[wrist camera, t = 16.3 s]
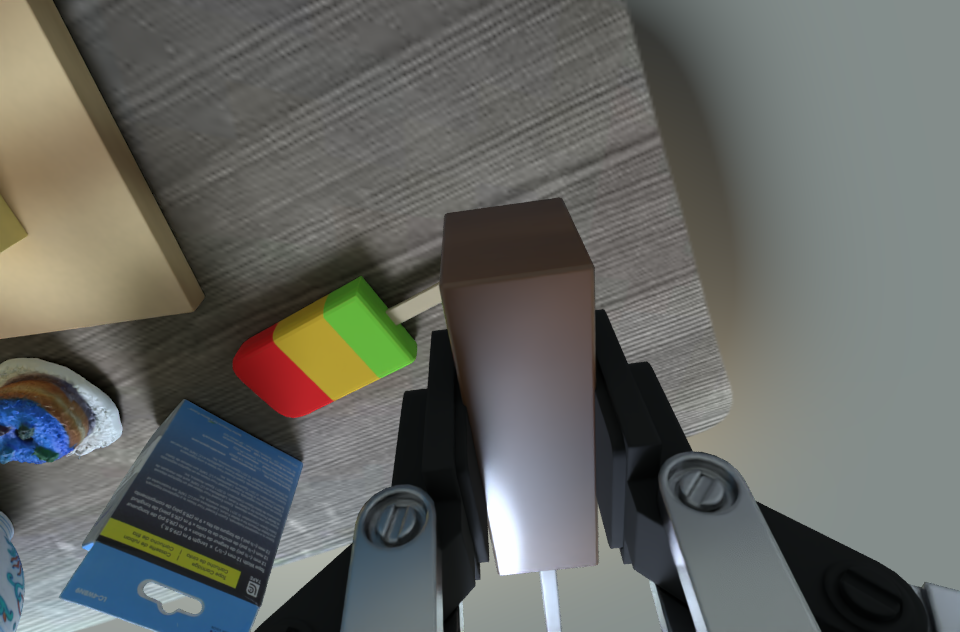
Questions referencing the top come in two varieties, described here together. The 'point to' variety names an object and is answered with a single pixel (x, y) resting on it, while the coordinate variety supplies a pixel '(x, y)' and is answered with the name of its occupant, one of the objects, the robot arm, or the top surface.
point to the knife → (527, 381)
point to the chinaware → (10, 579)
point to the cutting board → (74, 194)
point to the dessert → (51, 413)
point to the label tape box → (190, 527)
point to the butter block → (9, 227)
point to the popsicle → (330, 348)
